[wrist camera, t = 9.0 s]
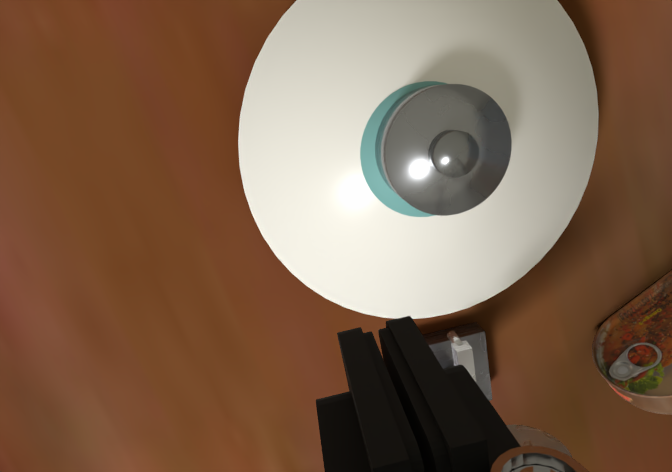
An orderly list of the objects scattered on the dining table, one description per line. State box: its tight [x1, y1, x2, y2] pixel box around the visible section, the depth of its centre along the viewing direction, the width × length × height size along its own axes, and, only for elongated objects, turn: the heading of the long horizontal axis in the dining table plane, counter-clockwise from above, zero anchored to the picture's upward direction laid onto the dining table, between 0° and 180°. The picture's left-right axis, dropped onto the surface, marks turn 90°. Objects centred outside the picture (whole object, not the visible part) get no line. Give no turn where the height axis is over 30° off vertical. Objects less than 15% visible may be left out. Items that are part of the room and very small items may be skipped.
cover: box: [375, 84, 512, 216], centre depth 26 cm, size 7×7×4 cm
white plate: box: [238, 0, 599, 319], centre depth 29 cm, size 22×22×3 cm
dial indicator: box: [422, 322, 572, 457], centre depth 29 cm, size 6×8×14 cm
